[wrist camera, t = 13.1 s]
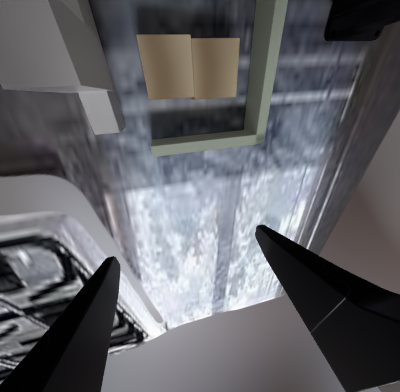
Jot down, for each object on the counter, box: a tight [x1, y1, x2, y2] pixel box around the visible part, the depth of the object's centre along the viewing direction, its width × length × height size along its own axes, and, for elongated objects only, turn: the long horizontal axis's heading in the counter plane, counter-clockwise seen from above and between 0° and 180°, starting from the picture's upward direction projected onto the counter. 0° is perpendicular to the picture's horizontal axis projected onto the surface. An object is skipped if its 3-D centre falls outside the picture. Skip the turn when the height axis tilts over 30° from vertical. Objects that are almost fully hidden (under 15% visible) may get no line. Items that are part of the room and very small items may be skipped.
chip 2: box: [191, 38, 240, 100], centre depth 14 cm, size 4×4×2 cm
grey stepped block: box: [0, 0, 126, 135], centre depth 10 cm, size 3×9×9 cm, turn 3°
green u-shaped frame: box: [151, 0, 288, 157], centre depth 13 cm, size 12×14×3 cm
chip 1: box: [136, 35, 195, 100], centre depth 13 cm, size 4×4×2 cm
